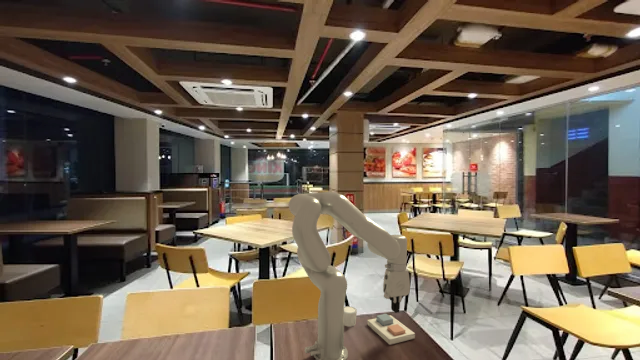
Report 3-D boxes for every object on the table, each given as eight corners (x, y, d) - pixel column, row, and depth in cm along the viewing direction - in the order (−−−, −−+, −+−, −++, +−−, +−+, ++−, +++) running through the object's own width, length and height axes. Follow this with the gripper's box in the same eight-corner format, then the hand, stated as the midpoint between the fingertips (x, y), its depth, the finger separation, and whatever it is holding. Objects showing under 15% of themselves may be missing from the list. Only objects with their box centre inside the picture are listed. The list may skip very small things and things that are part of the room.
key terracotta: (394, 338, 118) (394, 332, 118) (387, 332, 123) (387, 326, 123) (405, 336, 120) (405, 330, 120) (397, 329, 125) (397, 324, 124)
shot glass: (355, 330, 127) (356, 314, 127) (339, 328, 128) (340, 312, 128) (357, 322, 134) (357, 306, 134) (341, 320, 135) (342, 305, 135)
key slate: (383, 326, 125) (383, 321, 125) (376, 321, 130) (376, 315, 130) (393, 324, 127) (393, 318, 127) (386, 319, 132) (386, 313, 132)
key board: (389, 347, 115) (389, 339, 115) (367, 326, 130) (367, 319, 130) (414, 340, 120) (414, 333, 120) (390, 321, 135) (390, 315, 135)
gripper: (386, 271, 115) (384, 318, 115) (417, 267, 120) (416, 312, 121) (375, 265, 122) (374, 309, 122) (406, 261, 127) (404, 304, 128)
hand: (395, 311), depth 122 cm, fingers closed
